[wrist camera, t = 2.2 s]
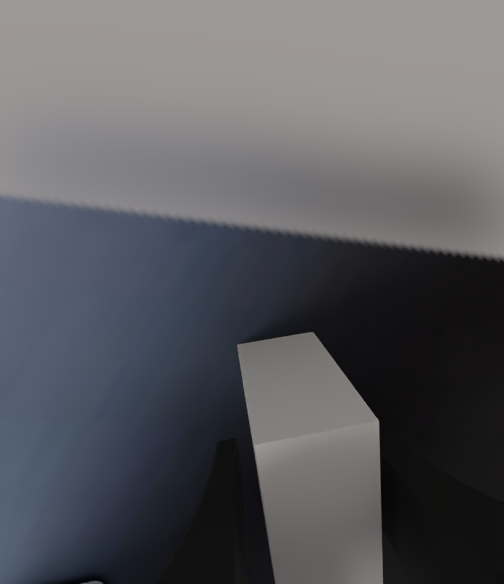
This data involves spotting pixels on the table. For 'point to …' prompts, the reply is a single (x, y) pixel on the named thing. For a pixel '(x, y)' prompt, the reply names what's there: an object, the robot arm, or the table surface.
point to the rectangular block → (313, 463)
